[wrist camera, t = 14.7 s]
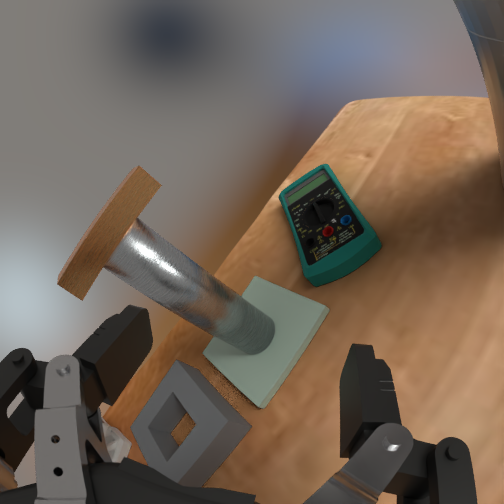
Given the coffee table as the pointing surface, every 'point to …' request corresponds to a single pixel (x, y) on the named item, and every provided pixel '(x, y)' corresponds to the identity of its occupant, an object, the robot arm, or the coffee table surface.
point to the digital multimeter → (327, 227)
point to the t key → (161, 270)
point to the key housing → (200, 438)
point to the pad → (280, 349)
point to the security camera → (115, 442)
